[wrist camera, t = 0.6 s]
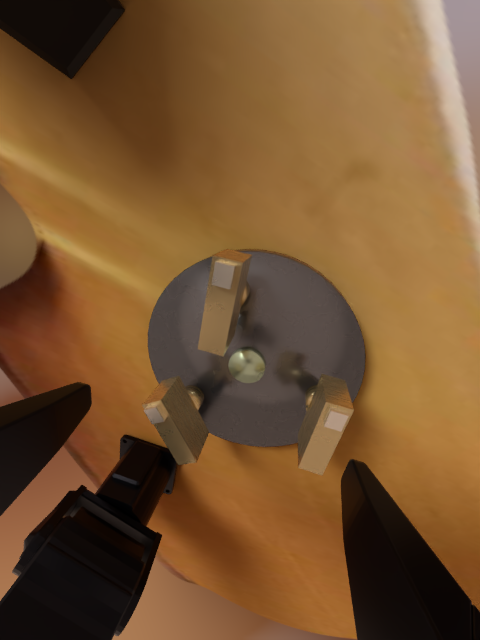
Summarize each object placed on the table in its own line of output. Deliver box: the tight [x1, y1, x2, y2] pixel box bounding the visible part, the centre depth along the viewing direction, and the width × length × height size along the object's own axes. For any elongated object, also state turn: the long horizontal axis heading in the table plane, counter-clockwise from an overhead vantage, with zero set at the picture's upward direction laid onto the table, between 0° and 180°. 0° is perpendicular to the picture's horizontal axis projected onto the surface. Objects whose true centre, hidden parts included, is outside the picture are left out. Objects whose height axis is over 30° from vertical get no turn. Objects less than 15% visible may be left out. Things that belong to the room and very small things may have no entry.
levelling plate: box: [148, 249, 365, 447], centre depth 21 cm, size 17×17×2 cm
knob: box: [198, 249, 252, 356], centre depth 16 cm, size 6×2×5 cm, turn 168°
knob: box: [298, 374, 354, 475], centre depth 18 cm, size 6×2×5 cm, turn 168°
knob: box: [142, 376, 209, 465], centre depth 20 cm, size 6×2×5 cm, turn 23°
